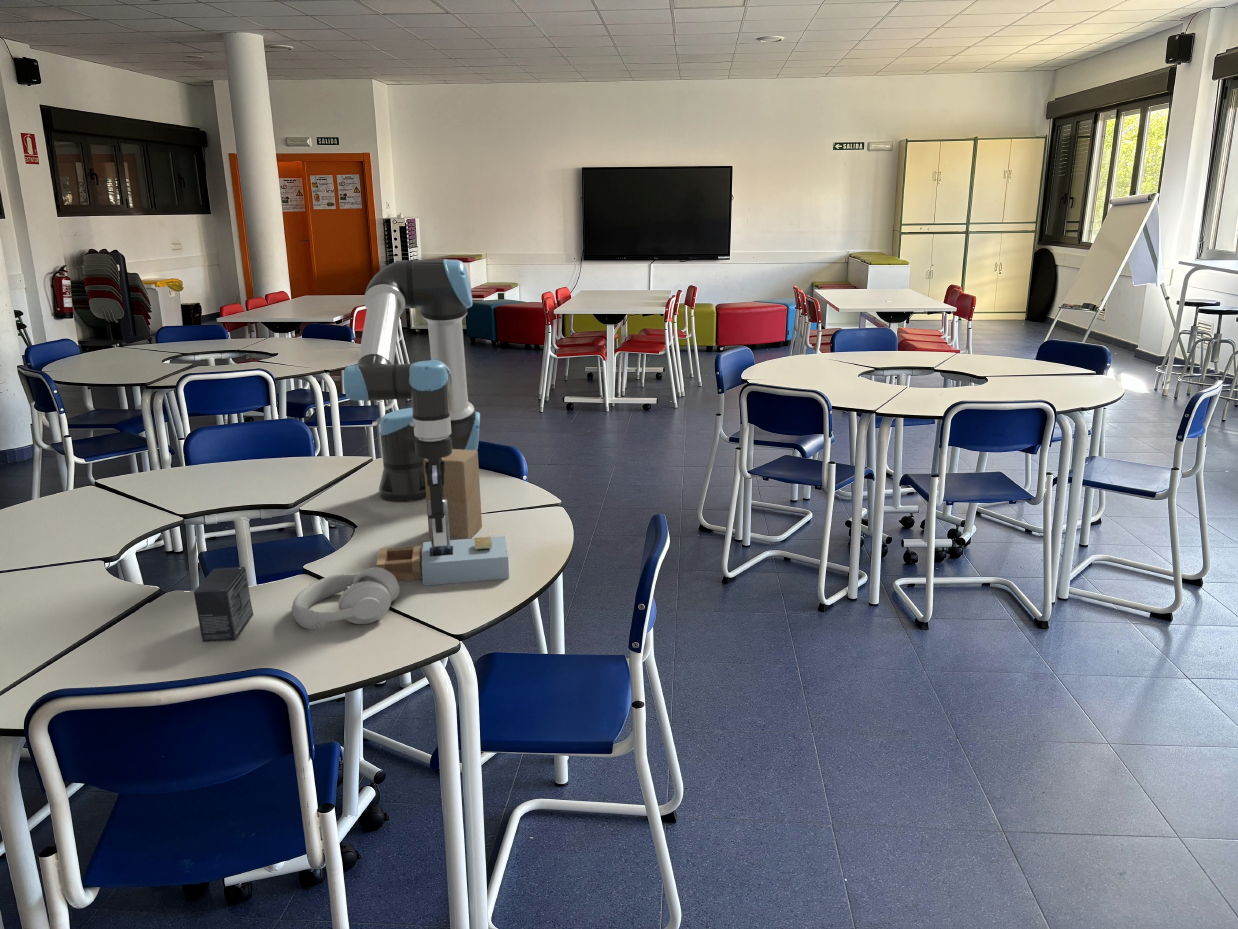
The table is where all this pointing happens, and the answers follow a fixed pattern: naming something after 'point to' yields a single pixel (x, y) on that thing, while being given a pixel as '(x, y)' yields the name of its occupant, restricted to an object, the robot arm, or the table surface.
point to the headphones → (348, 598)
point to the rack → (401, 562)
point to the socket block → (465, 562)
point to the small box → (223, 604)
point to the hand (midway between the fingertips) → (440, 540)
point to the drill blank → (446, 549)
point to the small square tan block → (483, 543)
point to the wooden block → (460, 493)
